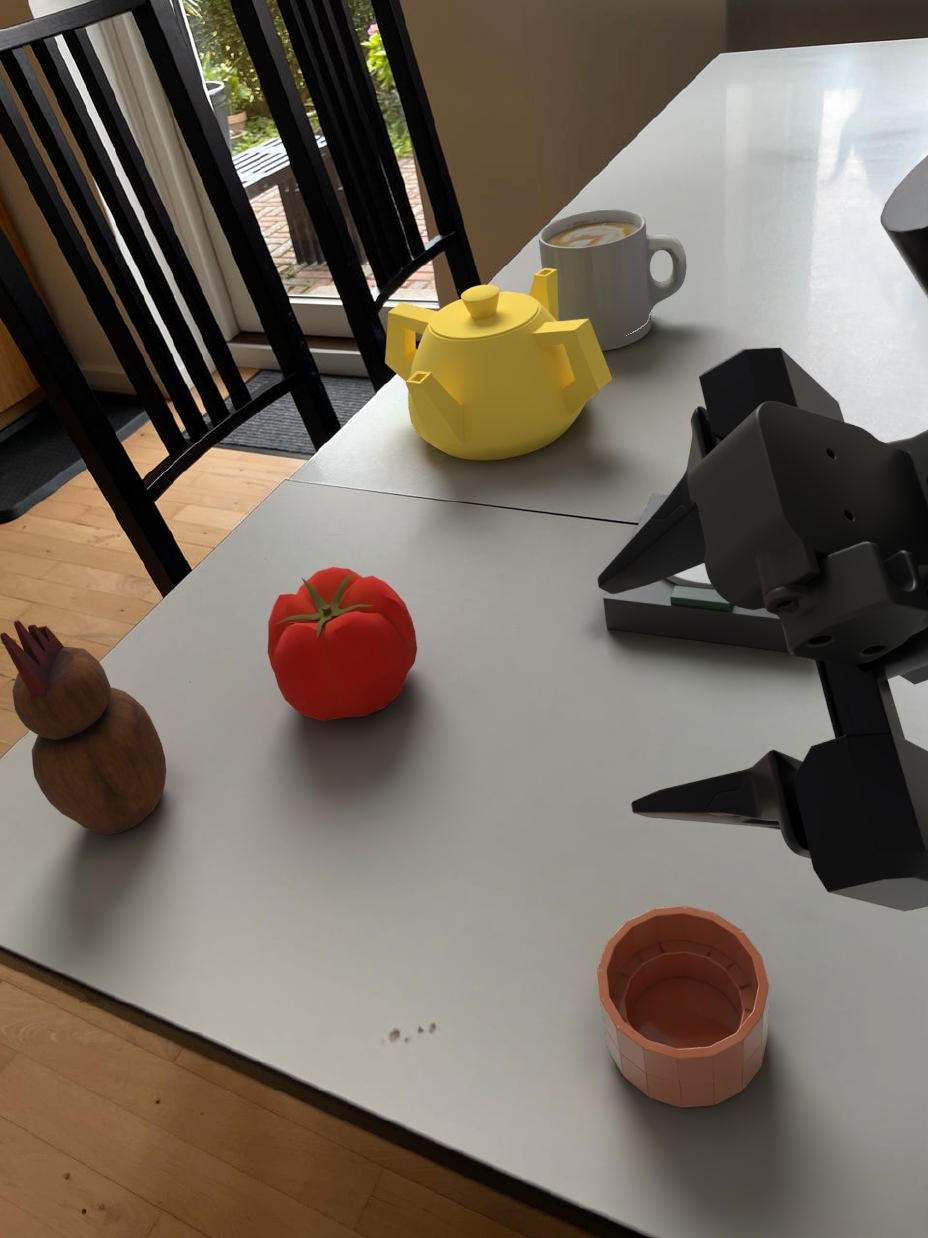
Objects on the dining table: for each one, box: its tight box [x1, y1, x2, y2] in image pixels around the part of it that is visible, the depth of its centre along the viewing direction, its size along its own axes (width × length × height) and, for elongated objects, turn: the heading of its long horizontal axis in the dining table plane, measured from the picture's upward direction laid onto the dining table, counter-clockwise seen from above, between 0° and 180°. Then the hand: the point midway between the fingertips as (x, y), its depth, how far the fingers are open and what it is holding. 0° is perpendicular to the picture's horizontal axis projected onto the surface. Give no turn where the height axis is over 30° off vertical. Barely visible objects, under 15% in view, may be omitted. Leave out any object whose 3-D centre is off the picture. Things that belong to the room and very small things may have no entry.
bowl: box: [596, 905, 770, 1108], centre depth 41 cm, size 7×7×4 cm
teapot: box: [384, 268, 613, 461], centre depth 84 cm, size 17×17×12 cm
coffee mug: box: [538, 208, 688, 352], centre depth 95 cm, size 13×10×10 cm
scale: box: [602, 493, 789, 653], centre depth 65 cm, size 12×12×3 cm
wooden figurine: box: [0, 619, 167, 835], centre depth 54 cm, size 7×6×15 cm
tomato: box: [267, 566, 418, 721], centre depth 61 cm, size 9×9×8 cm
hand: (620, 692), depth 38 cm, fingers open, 9 cm apart
